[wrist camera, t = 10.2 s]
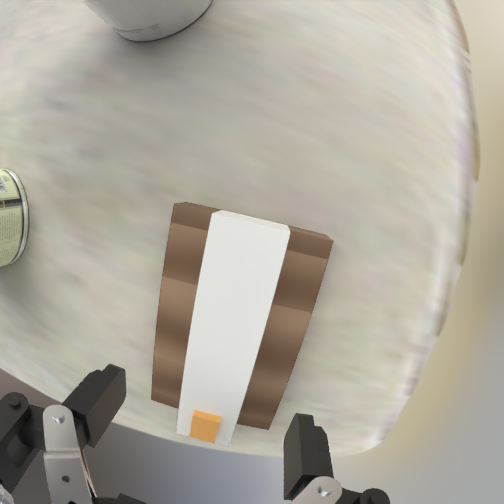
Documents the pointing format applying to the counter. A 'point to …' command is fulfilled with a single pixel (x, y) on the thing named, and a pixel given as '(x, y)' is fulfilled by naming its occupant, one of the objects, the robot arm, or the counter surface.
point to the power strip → (228, 321)
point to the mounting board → (277, 326)
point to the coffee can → (12, 217)
